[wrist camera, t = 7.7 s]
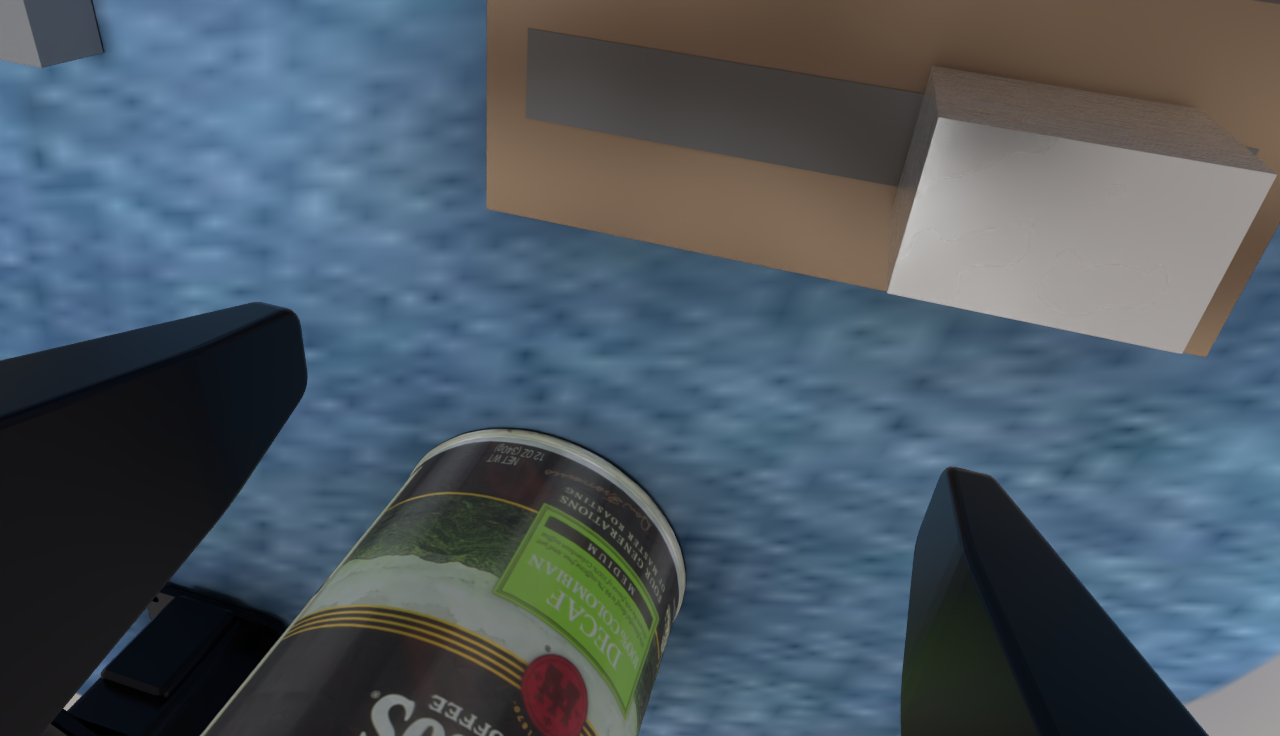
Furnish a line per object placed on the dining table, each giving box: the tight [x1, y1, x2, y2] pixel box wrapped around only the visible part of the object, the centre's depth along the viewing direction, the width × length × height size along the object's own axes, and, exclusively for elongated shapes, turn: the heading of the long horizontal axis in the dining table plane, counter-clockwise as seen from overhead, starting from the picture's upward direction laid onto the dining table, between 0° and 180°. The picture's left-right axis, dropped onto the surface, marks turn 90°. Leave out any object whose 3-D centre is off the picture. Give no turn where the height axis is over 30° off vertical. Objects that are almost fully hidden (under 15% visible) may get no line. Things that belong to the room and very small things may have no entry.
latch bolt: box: [887, 66, 1277, 354], centre depth 16 cm, size 3×5×4 cm, turn 84°
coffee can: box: [200, 429, 685, 736], centre depth 23 cm, size 10×10×14 cm
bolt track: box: [487, 0, 1280, 357], centre depth 18 cm, size 7×17×1 cm, turn 84°
